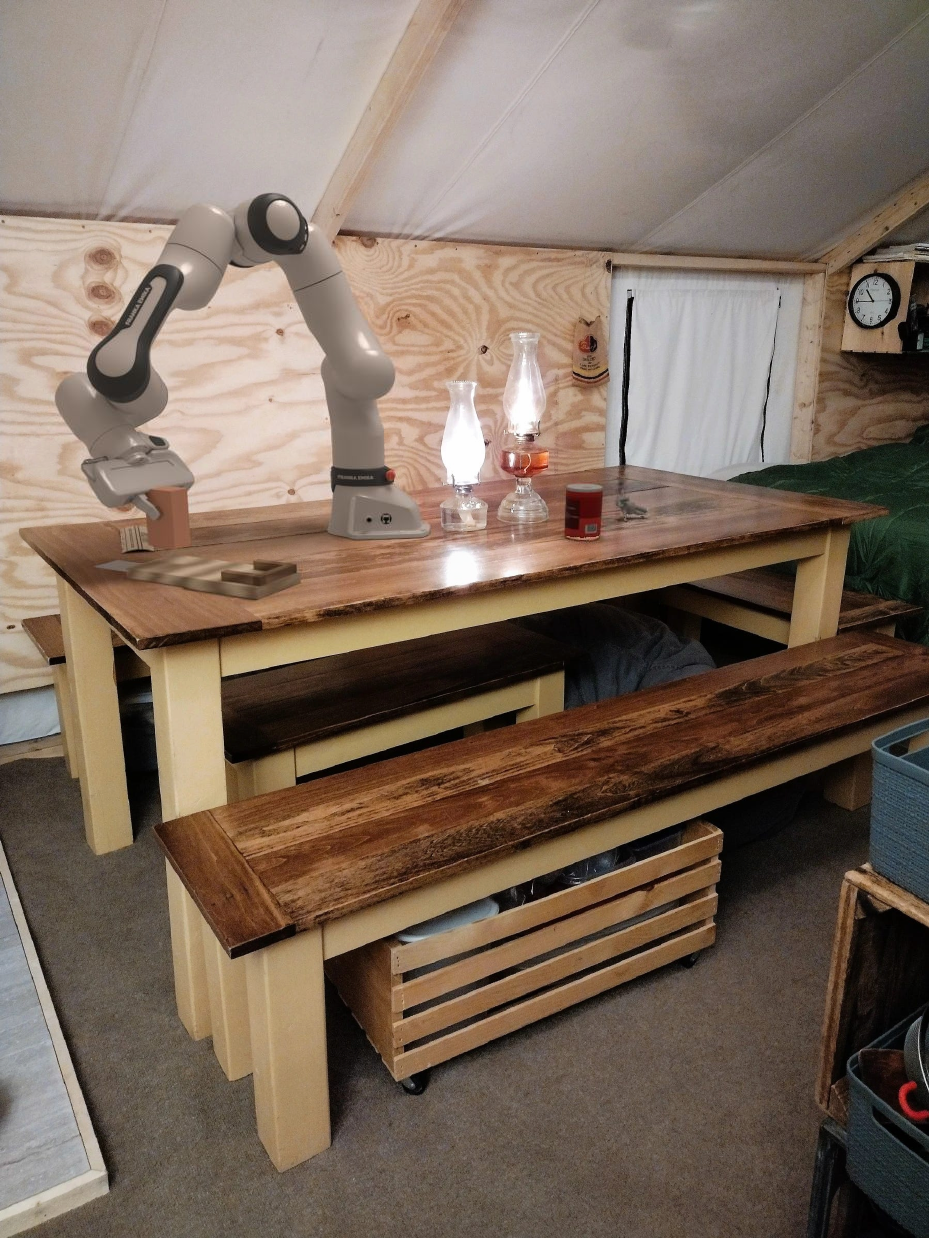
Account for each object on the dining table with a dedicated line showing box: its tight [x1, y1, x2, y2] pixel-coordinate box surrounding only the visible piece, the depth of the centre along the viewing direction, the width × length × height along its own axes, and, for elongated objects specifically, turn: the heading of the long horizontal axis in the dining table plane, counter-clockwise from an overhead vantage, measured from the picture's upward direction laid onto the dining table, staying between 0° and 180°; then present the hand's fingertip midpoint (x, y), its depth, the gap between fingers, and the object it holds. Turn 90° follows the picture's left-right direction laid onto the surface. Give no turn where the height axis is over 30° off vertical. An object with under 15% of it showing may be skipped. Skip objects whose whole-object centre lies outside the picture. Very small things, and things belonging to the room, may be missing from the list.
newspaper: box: [119, 525, 155, 554], centre depth 189 cm, size 24×7×2 cm, turn 21°
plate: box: [93, 559, 143, 573], centre depth 168 cm, size 8×6×1 cm
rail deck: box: [125, 553, 302, 600], centre depth 160 cm, size 28×12×4 cm, turn 65°
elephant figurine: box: [614, 488, 650, 519], centre depth 219 cm, size 10×6×9 cm
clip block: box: [145, 486, 192, 550], centre depth 161 cm, size 6×4×10 cm, turn 65°
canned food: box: [563, 483, 604, 538], centre depth 197 cm, size 8×8×11 cm
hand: (170, 515), depth 160 cm, fingers closed on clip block, 4 cm apart
